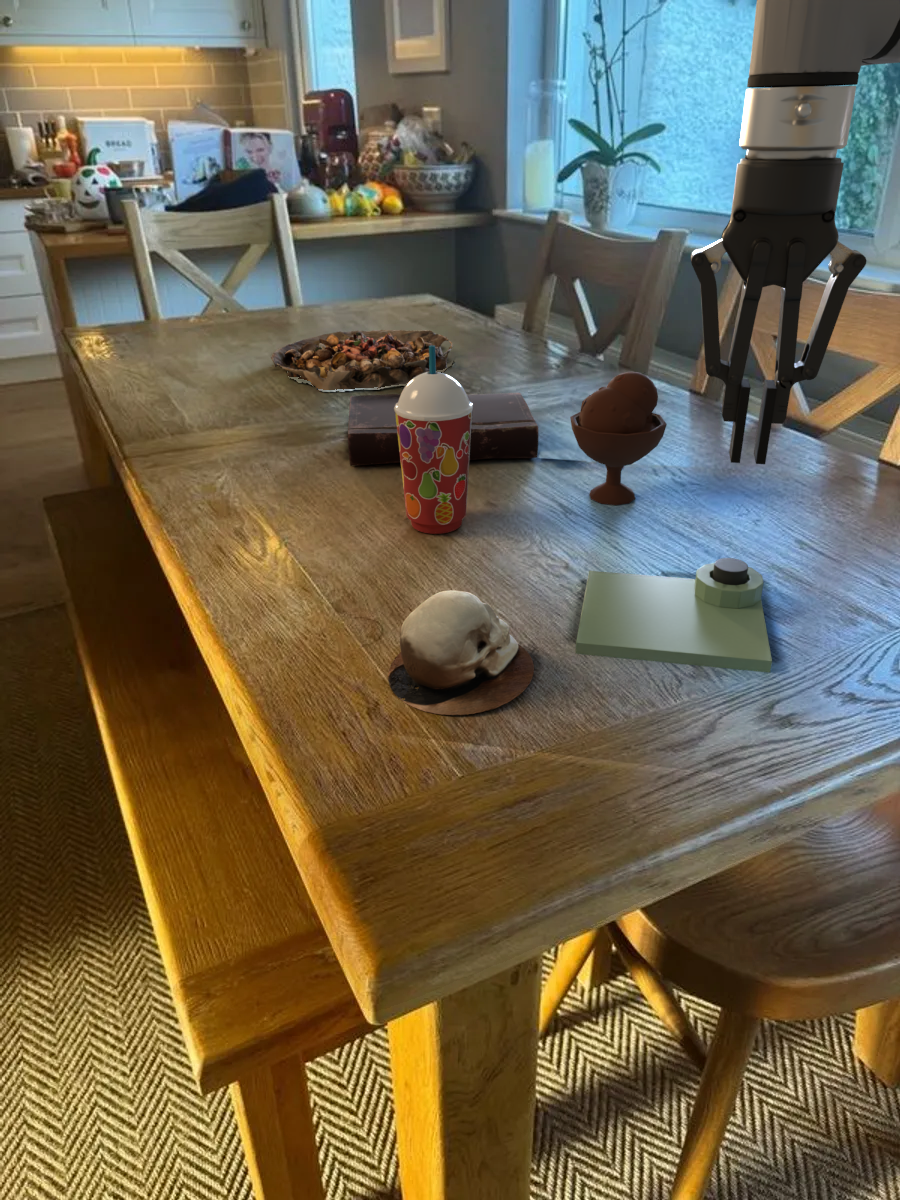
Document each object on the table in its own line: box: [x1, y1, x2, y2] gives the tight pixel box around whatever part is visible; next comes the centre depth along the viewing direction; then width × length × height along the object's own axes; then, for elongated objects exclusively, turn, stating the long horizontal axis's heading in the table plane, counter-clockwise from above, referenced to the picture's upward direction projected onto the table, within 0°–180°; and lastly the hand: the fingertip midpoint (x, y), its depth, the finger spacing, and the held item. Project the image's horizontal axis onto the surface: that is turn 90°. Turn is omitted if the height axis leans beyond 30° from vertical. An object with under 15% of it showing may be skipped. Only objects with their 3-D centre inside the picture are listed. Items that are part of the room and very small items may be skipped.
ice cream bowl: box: [569, 371, 668, 506], centre depth 105 cm, size 11×11×15 cm
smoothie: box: [394, 345, 473, 535], centre depth 98 cm, size 8×8×20 cm
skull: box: [387, 589, 535, 716], centre depth 74 cm, size 12×10×10 cm
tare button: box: [713, 557, 749, 585], centre depth 83 cm, size 3×3×2 cm
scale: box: [574, 562, 773, 674], centre depth 81 cm, size 16×14×3 cm
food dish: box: [270, 329, 454, 390], centre depth 165 cm, size 35×33×8 cm
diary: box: [347, 392, 539, 467], centre depth 126 cm, size 19×25×5 cm
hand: (746, 457), depth 78 cm, fingers closed
